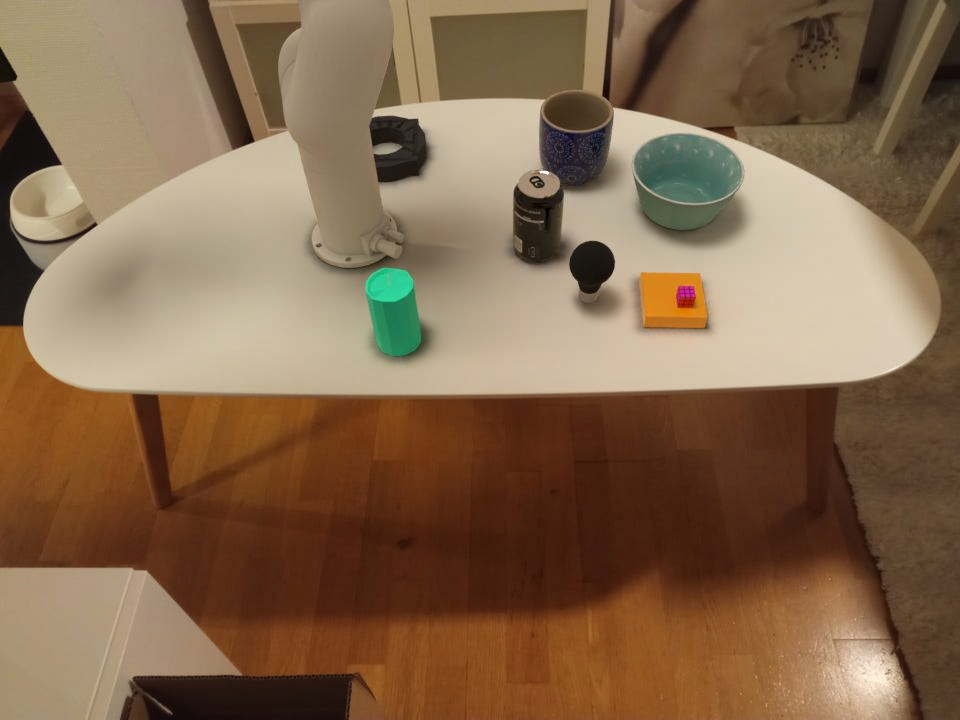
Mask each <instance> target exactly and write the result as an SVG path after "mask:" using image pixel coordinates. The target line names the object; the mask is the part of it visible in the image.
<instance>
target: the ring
mask: <svg viewBox="0 0 960 720" xmlns="http://www.w3.org/2000/svg"><path fill="white" fill-rule="evenodd" d="M369 129H370V134H371V140H372V146H373V147H374V146H376V145H379V144H384V143H392V144H398V145H400V146H401V147H400V148H398V149H397V150H396V151H392V152H389V153H383V154H381V153H380V154H378V153H374V152H373V154H374V160H375V166H376V172H377V177H378V183H388V182H396V181H400V180H403V179H406V178H408V177H417V176H420V169H421V168H422V167H423V165H424V163H425V162H426V160H427V155H428V153H427V151H428V149H427V140H426V133H425V131H424V130H423V128H422V127H421V126H420V121H419V118H417V117H416V118H407V117H402V116H399V115H398V116H397V115H377V116H374V117H372V120H371V122H370V125H369Z"/></svg>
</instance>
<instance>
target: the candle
mask: <svg viewBox="0 0 960 720" xmlns="http://www.w3.org/2000/svg"><path fill="white" fill-rule="evenodd" d="M365 295H366V300H367V304H368V309H369V310H368V311H369V314H370V320H371V323H372V327H373V332H374V337H375V340H376V345H377V347H378V348H379V349H380V350H381V352H382V354H383V353H384V354H386V355H389V356H391V357H402V356H403V357H404V356H407V355H409V354H411V353H412V352H414V351H416V350H417V349H418V347H419V346H420V344H421V343H422V332H421V324H420V317H419V311H418V304H417V303H418V302H417V296H416V289H415V282H414V279H413V278H412V276H411V275H410V273H409V272H408V270H405V269H400V268H395V267H394V268H392V267H382V268H380V269H378V270H376V271H374V272H372V273H371V275H370V276H369V277H368V278H367V280H366V281H365Z"/></svg>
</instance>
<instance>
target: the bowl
mask: <svg viewBox="0 0 960 720" xmlns="http://www.w3.org/2000/svg"><path fill="white" fill-rule="evenodd" d="M631 171H632V176H633V180H634V184H635V188H636V192H637V195H638V198H639V202H640V206H641V208H642V211H643V212H644V214H646V216H647V217H648V218H649V219H650V220H652V221H653V222H654V223H656V224H658V225H660V226H661V227H665V228H667V229H672V230H678V231H689V230H695V229H698V228H702V227H703V226H706V225H708V224H710V222H712V221H713V220H714V219H715V218H716V217H717V215H718V214H719V213H720V212H721V211H722V210H723V209H724V208H725V206H727V204H728V203H729V201H731V199H733V197H734V196H735V194H736V193H737V192H738V191H739V190H740V188H741V186H742V185H743V182H744V180H745V167H744V164H743V162H742V160H741V158H740V157H739V155H738V154H737V153H736V151H734V150H733V148H731V146H728V145H727V144H725V143H724V142H722V141H720V140H718V139H716V138H713V137H710V136H707V135H704V134H699V133H694V132H671V133H665V134H661V135H657V136H655V137H652V138H650V139H648V140H646V141H645V142H644V143H642V144H641V145H640V146H639V147H638V148H637V149H636V150H635V152H634V153H633V155H632V159H631Z"/></svg>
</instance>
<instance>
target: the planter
mask: <svg viewBox="0 0 960 720" xmlns="http://www.w3.org/2000/svg"><path fill="white" fill-rule="evenodd" d="M614 116H615V111H614V107H613V105H612V103H611V102H610V100H608V99H607V98H606V97H604V96H603V95H601V94H600V93H597V92H594V91H590V90H586V89H566V90H562V91H558V92H556V93H554V94H551V95H550V96H548V97H547V98H546V99H545V100H544V101H543V102H542V104H541V106H540V109H539V122H538V124H539V125H538V151H539V160H540V164H541V166H542V170H546V171H549V172H552V173H553V174H555V175H556V176H557V177H558V178H559V180H560V184H561V185H566V186H580V185H581V186H582V185H584V184H587V183H589V182H591V181H593V180H595V179H596V178H597V177H598V176H599V175H600V174H601V173H602V171H603V170H604V169H605V166H606V164H607V161H608V159H609V158H608V157H609V153H610V148H611V141H612V135H613V127H614Z"/></svg>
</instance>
